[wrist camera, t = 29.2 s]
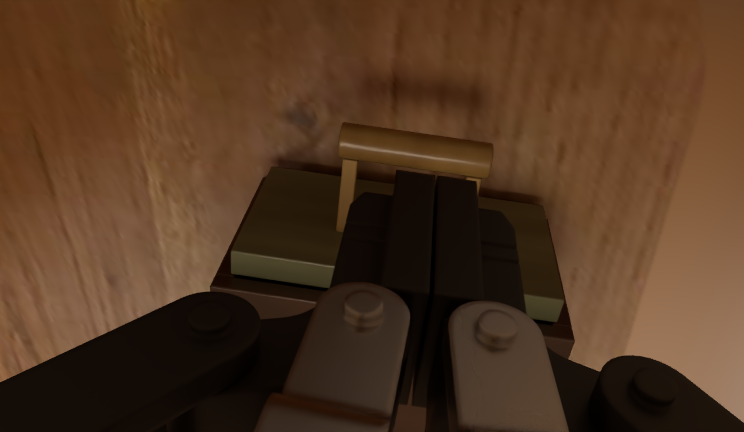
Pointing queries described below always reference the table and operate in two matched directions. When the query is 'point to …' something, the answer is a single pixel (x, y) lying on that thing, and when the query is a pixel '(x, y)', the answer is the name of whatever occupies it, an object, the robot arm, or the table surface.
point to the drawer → (335, 193)
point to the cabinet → (299, 300)
